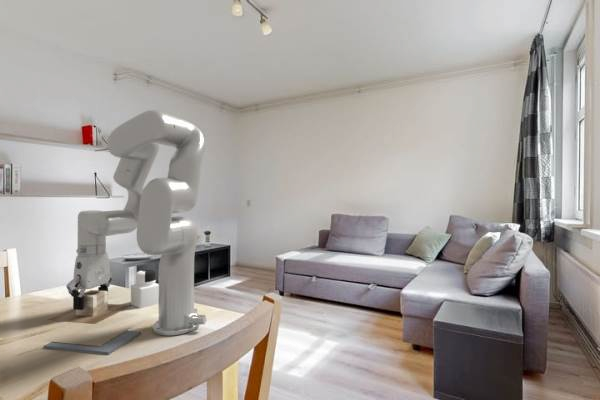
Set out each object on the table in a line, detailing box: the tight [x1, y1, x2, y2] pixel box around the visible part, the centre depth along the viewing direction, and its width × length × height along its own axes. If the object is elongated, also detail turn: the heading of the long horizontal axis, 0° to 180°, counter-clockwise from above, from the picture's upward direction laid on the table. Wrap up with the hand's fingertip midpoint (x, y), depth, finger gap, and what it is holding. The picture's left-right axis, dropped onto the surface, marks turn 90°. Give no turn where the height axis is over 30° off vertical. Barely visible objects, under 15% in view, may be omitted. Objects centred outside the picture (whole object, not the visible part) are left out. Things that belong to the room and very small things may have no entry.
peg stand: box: [47, 303, 133, 325], centre depth 104 cm, size 16×16×5 cm
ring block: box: [76, 289, 109, 316], centre depth 104 cm, size 6×6×6 cm
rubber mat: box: [43, 330, 142, 355], centre depth 86 cm, size 18×12×1 cm, turn 80°
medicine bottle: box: [130, 269, 159, 309], centre depth 113 cm, size 7×7×12 cm
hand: (91, 304), depth 104 cm, fingers open, 9 cm apart
